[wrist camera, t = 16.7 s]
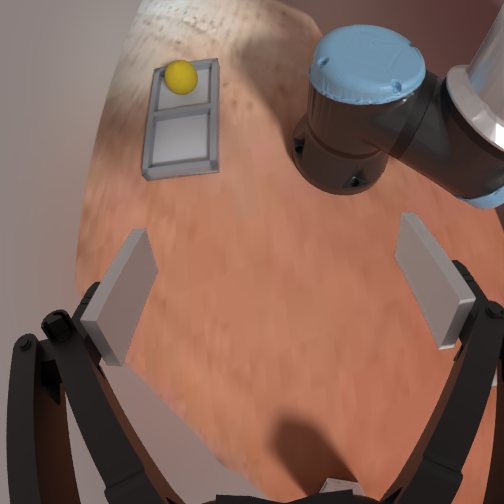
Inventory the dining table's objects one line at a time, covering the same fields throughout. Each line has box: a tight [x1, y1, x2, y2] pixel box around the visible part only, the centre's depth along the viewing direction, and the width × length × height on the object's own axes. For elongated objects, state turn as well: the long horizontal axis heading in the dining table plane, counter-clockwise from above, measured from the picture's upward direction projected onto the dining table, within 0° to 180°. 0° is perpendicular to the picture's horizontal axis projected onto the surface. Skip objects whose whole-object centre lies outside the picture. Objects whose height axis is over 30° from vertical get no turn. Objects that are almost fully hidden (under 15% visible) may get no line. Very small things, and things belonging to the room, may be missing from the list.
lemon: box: [165, 60, 198, 95], centre depth 48 cm, size 6×6×8 cm
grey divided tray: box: [142, 58, 220, 181], centre depth 51 cm, size 23×12×2 cm, turn 3°
